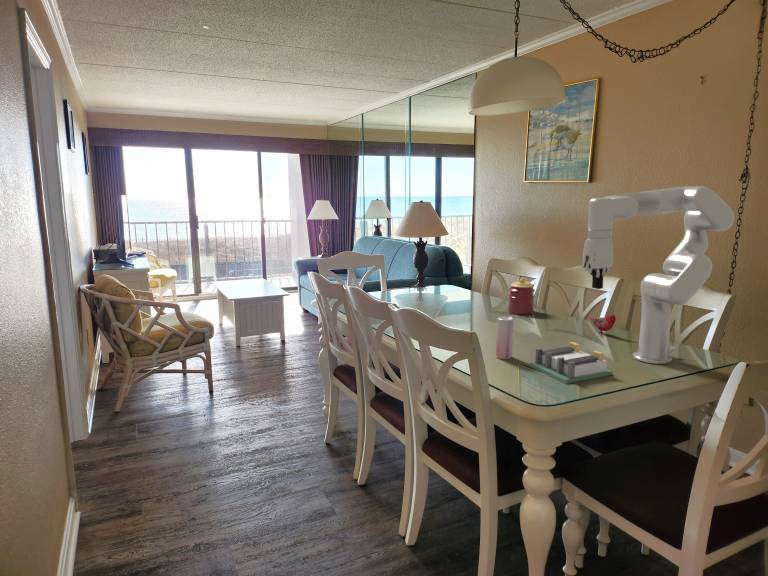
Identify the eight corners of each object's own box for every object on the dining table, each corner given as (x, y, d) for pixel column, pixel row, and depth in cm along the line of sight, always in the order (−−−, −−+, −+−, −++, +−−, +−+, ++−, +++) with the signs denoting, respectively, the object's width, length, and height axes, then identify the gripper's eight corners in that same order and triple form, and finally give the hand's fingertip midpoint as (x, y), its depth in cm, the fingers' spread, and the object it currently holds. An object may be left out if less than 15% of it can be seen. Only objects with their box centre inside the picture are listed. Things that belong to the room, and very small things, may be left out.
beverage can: (494, 354, 195) (495, 316, 193) (510, 354, 195) (511, 316, 192) (497, 359, 190) (498, 320, 187) (513, 359, 189) (515, 320, 187)
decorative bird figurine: (612, 339, 214) (614, 315, 212) (583, 328, 231) (584, 307, 229) (617, 338, 215) (619, 315, 213) (588, 328, 232) (589, 306, 230)
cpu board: (573, 359, 189) (575, 339, 188) (612, 374, 173) (614, 353, 172) (529, 366, 182) (530, 346, 180) (565, 383, 165) (566, 361, 164)
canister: (517, 308, 272) (518, 275, 269) (538, 312, 263) (540, 278, 260) (502, 312, 264) (503, 278, 260) (524, 316, 254) (526, 281, 251)
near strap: (590, 357, 175) (590, 355, 175) (597, 360, 172) (597, 357, 172) (562, 362, 170) (562, 360, 170) (569, 365, 167) (569, 363, 167)
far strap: (567, 348, 185) (567, 346, 185) (574, 351, 182) (574, 349, 182) (540, 353, 180) (540, 351, 180) (546, 356, 177) (546, 353, 177)
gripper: (607, 232, 180) (604, 284, 183) (574, 235, 174) (572, 288, 177) (625, 234, 173) (622, 287, 177) (591, 237, 167) (589, 292, 171)
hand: (597, 288), depth 177 cm, fingers closed
